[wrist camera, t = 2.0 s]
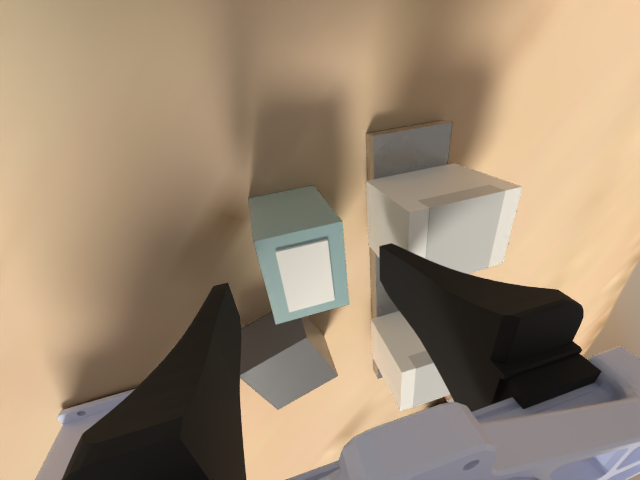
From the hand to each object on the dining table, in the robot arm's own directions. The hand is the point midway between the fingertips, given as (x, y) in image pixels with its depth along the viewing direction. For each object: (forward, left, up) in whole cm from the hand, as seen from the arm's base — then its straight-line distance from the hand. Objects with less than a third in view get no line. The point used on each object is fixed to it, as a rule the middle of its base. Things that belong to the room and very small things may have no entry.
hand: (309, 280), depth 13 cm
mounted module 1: (+8, 0, -6) cm, 10 cm away
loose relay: (-2, -9, -6) cm, 11 cm away
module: (0, 0, -6) cm, 6 cm away
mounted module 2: (+8, -11, -6) cm, 15 cm away
